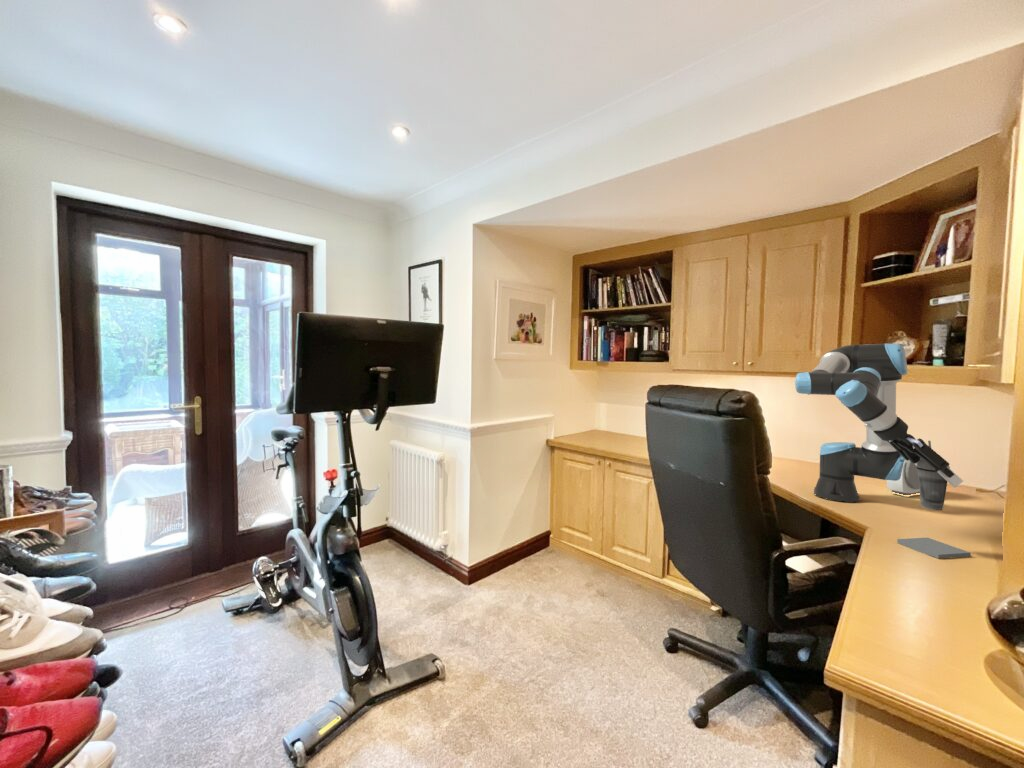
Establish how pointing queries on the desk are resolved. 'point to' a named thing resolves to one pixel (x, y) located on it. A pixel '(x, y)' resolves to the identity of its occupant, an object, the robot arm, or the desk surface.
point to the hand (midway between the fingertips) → (947, 480)
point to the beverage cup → (931, 486)
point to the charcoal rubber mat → (933, 547)
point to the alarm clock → (906, 480)
